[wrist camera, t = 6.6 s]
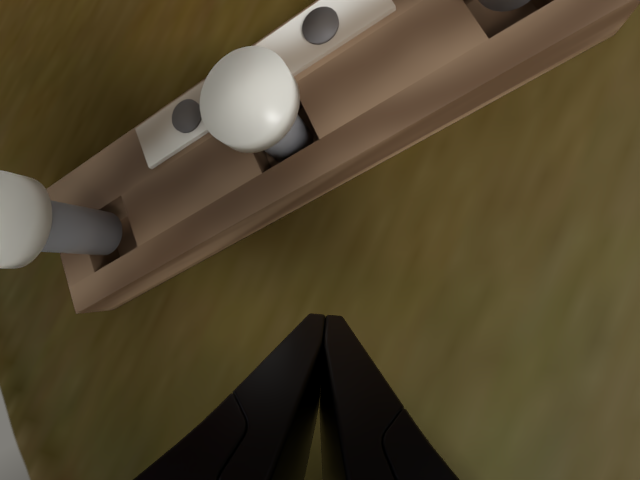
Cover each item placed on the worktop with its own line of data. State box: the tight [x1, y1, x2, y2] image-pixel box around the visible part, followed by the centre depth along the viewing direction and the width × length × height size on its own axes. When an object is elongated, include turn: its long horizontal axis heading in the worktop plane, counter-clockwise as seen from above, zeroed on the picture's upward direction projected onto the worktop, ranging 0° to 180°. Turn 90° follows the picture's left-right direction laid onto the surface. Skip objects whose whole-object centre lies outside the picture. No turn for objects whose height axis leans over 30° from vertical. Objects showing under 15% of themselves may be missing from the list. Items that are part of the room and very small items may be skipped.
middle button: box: [200, 46, 313, 163], centre depth 19 cm, size 5×5×6 cm
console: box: [46, 0, 640, 314], centre depth 22 cm, size 10×37×4 cm, turn 116°
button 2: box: [0, 170, 122, 269], centre depth 20 cm, size 5×5×6 cm
